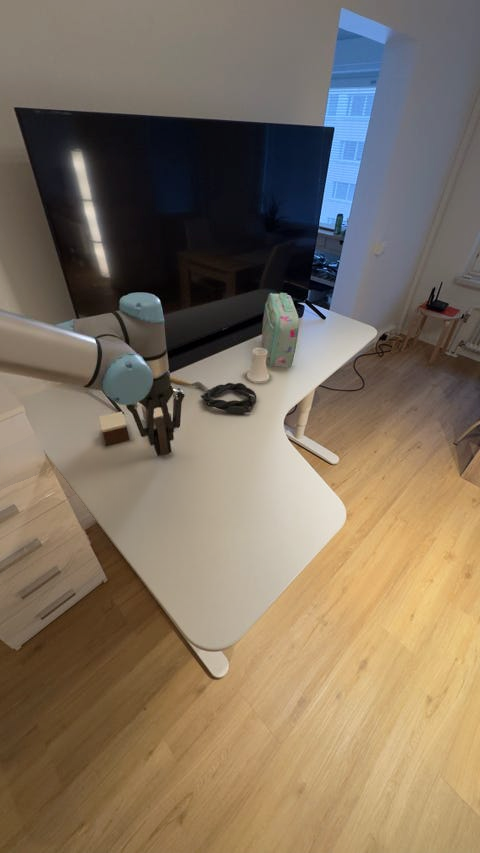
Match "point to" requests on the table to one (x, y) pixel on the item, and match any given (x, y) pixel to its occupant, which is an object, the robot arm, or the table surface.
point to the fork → (189, 383)
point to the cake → (114, 428)
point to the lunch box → (280, 330)
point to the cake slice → (160, 414)
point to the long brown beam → (159, 433)
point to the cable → (232, 405)
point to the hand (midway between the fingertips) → (163, 450)
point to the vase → (258, 367)
